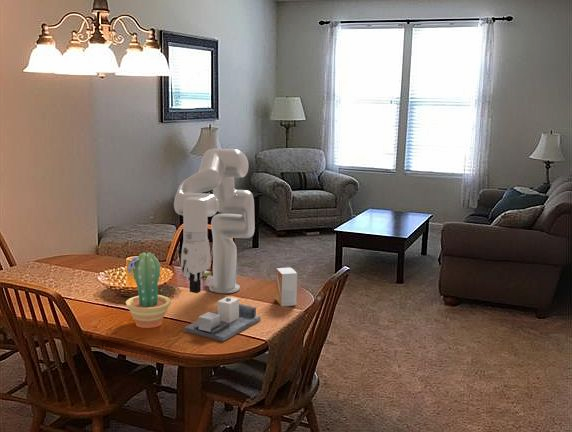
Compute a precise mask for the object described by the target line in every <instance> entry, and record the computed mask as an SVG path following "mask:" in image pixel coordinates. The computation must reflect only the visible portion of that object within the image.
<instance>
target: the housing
mask: <svg viewBox="0 0 572 432" xmlns="http://www.w3.org/2000/svg"><path fill="white" fill-rule="evenodd" d="M239 304H240V298H236V297H232V296H226V297H224V298H222V299H219V300H217V311H218V314H219V315H220V316H221V320H220V321H223V322H227V323H231V322H232V321H234V320H236V319H238V318H239Z"/></svg>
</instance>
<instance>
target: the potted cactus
mask: <svg viewBox="0 0 572 432" xmlns="http://www.w3.org/2000/svg"><path fill="white" fill-rule="evenodd" d="M127 271H128V273H129V275H130V276H131V275H132V274H133V275H132V276H133V279H134V282H135V284H136V288H137V292H138V293H137V295H136V296H132V297H130V298H128V299H127V300H126V301H125V304H126V307H127V309H128V310H129V312H130V314H131V316H132V318H133V320H135V325H136V327H138V328H143V329H149V328H156V327H160V326H161V325H162V323H163V322H162V319H163V318H164V317H165V315H166V313H167V312H168V308H170V306H171V303H172V300H171V299H170V298H169V297H168V296H164V295H161V294H158V293H159V292H158V289H159V287H158V285H159V280H160V277H161V263H160V262H159V260H158V258H157V257H156V256H155V254H154V253H151V252H147V253H146V252H142V253H139V255H138V256H134V257H132V258H131V260H130V262H129V264H128V266H127Z"/></svg>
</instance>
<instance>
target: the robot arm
mask: <svg viewBox="0 0 572 432" xmlns="http://www.w3.org/2000/svg"><path fill="white" fill-rule="evenodd" d="M248 172H249V161H248V157H247V156H246V154H245V153H243V152H242V151H241V150H239V149H235V148H216V147H215V148H210V149H208V150H206V151H205V152H204V154H203V156H202V158H201V162H200V166H199V168H198V171H197V172H196V173H194V174H192V175H191V176H189V177H187V178H186V179H184V180H183V181H182V182H181V183H180V184H179V186H178V189H177V191H176V193H175V196H174V201H173V208H174V211H175V213H176V214H177V215H179V216H182V217H183V218H182V219H183V226H182V228H183V230H182V231H183V238H182V239H183V241H182V247H181V253H180V254H181V257H180V271H181V272H183V274H182V275H183V276H182V277H183V278H187V279H188V281H189V292H190V293H193V294H198V293H201V291H202V288H201V287H202V286H201V285H202V284H201V280H202V279H203V277H202V275H203V274H204V273H206V271H207V270H210V269H211V262H213V263H212V272H213V277H212V276H207V279H205V282H209V283H210V284H209V285H208V290H209V291H211V292H212V293H215V294H225V295H226V294H232V293H236V292H238V291H239V290H240V289H241V287H240V285H239V284H238V283H237V254H238V252H237V251H238V250H237V249H238V248H237V245H236V244H235V242H234V239H233V238H236V239H250V238H252V237H253V236H254V233H255V229H256V227H255V224H256V223H255V221H256V220H255V199H254V196H253V193H252V192H251V191H250V190H246V189H236V188H235V178H244V177H246V175H247V174H248ZM209 191H212V193H206V192H209ZM217 212H218V213H217ZM210 217H212V218H211V222H210V227H211V228H210V229H211V234H212V249H213V251H212V253H213V254H212V261H211V247H210V240H209V238H208V218H210Z"/></svg>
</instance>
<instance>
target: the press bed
mask: <svg viewBox="0 0 572 432" xmlns="http://www.w3.org/2000/svg"><path fill="white" fill-rule="evenodd" d="M213 313H215V314H218V310H217V311H215V312H213ZM260 321H261V316H259V315H257V307H256V306H251V305H247V304H242V303H239V318H238V319H236V320H234V321H232V322H231V323H227V322H223V321H220V327H218V328H217V329H215V330H213V331H211V332H207V331H204V330H200V329H198V327H199V319H198V320H196V321H194V322H192V323H190V324H188V325H186V326H184V332H186V333H189V334H193V335H195V336H196V335H197V336H201V337H205V338H208V339H212V340H215V341H220V342H225V341H227V340H229V339H231V338H232V337H234V336H236V335H238V334H240V333H241V332H244V331H245V330H246V329H248V328H250V327H252V326H253V325H255V324H257V323H258V322H260Z"/></svg>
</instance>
